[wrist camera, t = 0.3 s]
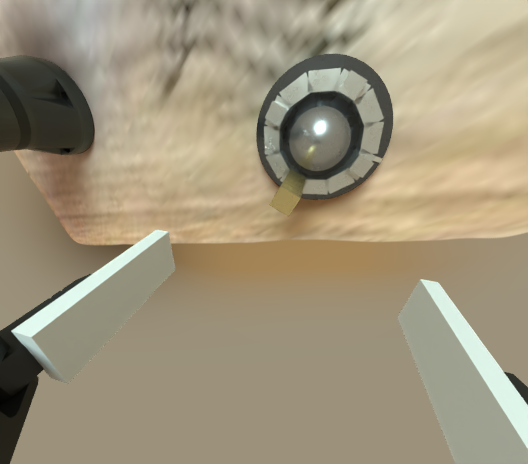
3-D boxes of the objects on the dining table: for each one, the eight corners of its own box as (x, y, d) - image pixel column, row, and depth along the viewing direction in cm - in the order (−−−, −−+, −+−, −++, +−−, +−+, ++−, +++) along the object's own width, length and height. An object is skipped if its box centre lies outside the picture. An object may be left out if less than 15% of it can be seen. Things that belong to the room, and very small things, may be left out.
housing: (241, 160, 35) (225, 168, 29) (300, 26, 25) (293, -2, 19) (332, 214, 36) (335, 234, 30) (422, 105, 26) (452, 101, 20)
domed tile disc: (252, 158, 32) (222, 176, 22) (303, 49, 24) (292, 2, 15) (330, 205, 32) (334, 243, 23) (402, 112, 25) (456, 108, 15)
